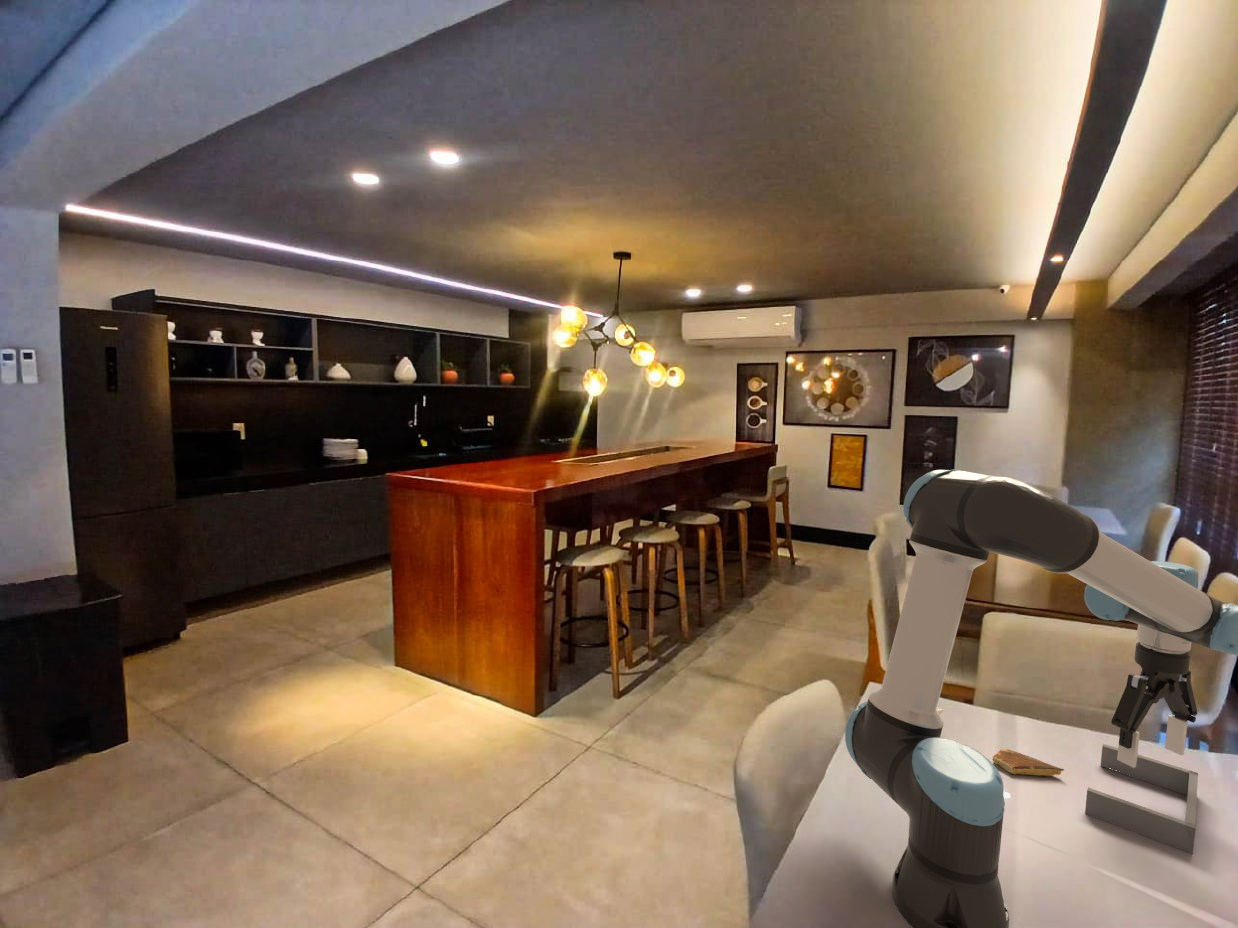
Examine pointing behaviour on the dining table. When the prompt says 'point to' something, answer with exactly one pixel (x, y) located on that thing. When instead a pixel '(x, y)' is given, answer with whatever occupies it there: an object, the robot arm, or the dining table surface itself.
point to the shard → (1023, 764)
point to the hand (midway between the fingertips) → (1150, 757)
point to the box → (1144, 818)
